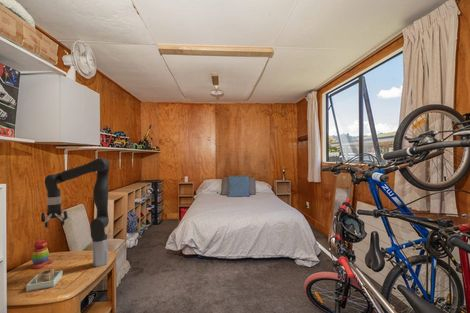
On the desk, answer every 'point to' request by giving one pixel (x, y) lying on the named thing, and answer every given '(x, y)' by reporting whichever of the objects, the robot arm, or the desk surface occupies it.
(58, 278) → the green crate
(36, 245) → the stacking bear
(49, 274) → the oak crate
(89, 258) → the desk surface
